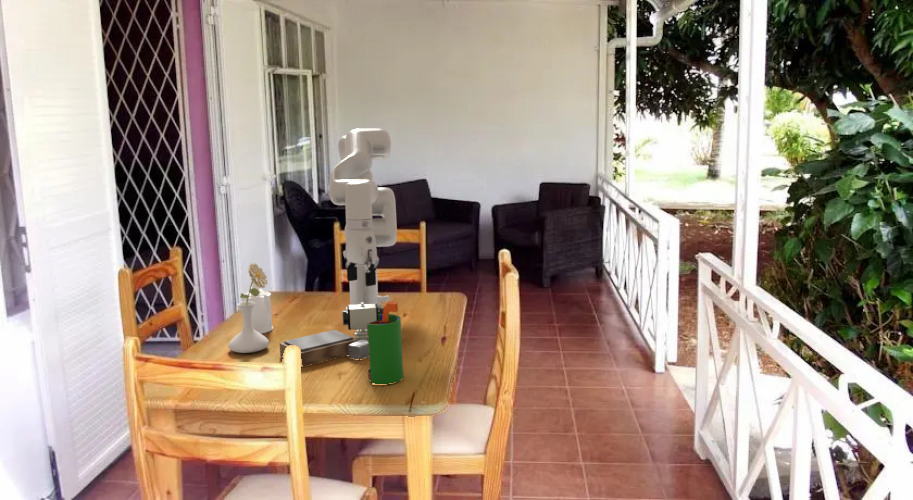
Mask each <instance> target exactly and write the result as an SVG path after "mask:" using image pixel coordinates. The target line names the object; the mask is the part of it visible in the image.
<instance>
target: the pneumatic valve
mask: <svg viewBox="0 0 913 500" xmlns="http://www.w3.org/2000/svg"><path fill="white" fill-rule="evenodd" d="M346 307H347V309H346V308H345V310H342V311H341V312H342V313H341V314H342V325H343V326H346V327H347V328H348V329H347V330H348V331H351V330H353V331H354V330H356V331H355V332H354V334H353V335H354V337H353V338H356V339H358V341H359V340H362V339H363V340H367V338H368V335H367V331H368V329H367V324H368V323H370V322H374V321H378V314H383V311H384V308H383V309H382V308H378V306H377V304H364V303H361V305H360V304H359V305H350V304H347V305H346Z"/></svg>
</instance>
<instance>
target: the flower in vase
mask: <svg viewBox="0 0 913 500" xmlns="http://www.w3.org/2000/svg"><path fill="white" fill-rule="evenodd" d="M247 268H248V274H249V277H250V280H251V283H250V286H249V290H248V292H249V294H248V295H245V294H244V293H240V297H239V298H240V299H241V298H247V302H242V301H240V302H238V303H237V304H236V306H237V307H239V309H240V311H241V315H242V330H241V331H240V332H238V333H237V334H236V335H235V336H234V337H233V338H232V339H231V340H230V341H229V342H228V346H227V347H228V349H229V350H230V351H232V352H234V353H238V354H246V353H249V354H250V353H256V352H260V351H262V350H264V349H266V348H267V347H268V346H269V345H270V340H269V339H268V337H266V336H265V335H263V334H260V333H259V332H257V331H256V330H254V329H253V327H252V322H251V313H252V309H253V306H254V305H255V302H251V301H248V298H249V297H250V296H249V295H250V293H251V294H252V295H253V296H258V295H259V293H260V292H259V290H257V289H256V288H252V289H251V287H252V283H253V282H254V284H256V286H257V287H258V286H259V287H260V288H261V289H263V288H266V285H268V279H267V278H268V276H267V275H266V273H265V272H264V270H263V268H262V267H259V265H258V264H257V263H255V262H254V263H253V262H252V263H250V264H249V267H247Z"/></svg>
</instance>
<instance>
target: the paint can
mask: <svg viewBox="0 0 913 500" xmlns="http://www.w3.org/2000/svg"><path fill="white" fill-rule="evenodd" d="M252 288H256V289H257V290H259V292H260V293H259V295H258V296H253V295H252V294H251V293H250V295H249V296H250V297H249V298H248V301H251V302H255V305H254V306H253V309H252V313H251V322H252V327H253V329H254V330H256V331H257V332H259V333H260V334H262V335H263V334H267V333H270V332H272V331H273V329H274V326H273V320H272V304H271V296H272V293H271V292H269V291H264V289H263V288H262V287H261V288H260V287H259V286H258V287H257V286H256V284H254V282H253V283H252V286H251V289H252ZM243 294H245V295H248V294H249V291H248V292H245V293H243ZM240 300H241V302H247V298H240Z"/></svg>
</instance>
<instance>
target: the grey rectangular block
mask: <svg viewBox="0 0 913 500" xmlns="http://www.w3.org/2000/svg"><path fill="white" fill-rule="evenodd" d="M368 344H369V342H368V341H367V340H363V339H362V340H359V341H357V342H354V343H352V344H349V345H348V351H349V356H348V359H349V358H354V359H359V360H360V359H363V358H365V357H367V358H369V357H368V356H369V355H368V350H369V349H368ZM354 359H353V360H354ZM365 359H366V358H365ZM359 360H358V361H359ZM363 360H364V359H363Z"/></svg>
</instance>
